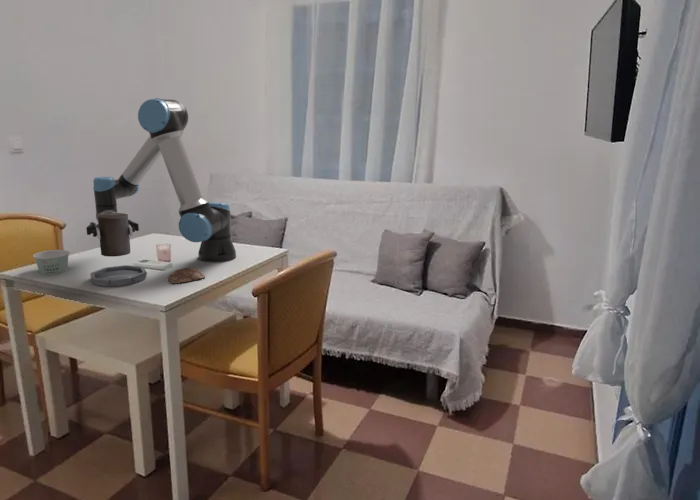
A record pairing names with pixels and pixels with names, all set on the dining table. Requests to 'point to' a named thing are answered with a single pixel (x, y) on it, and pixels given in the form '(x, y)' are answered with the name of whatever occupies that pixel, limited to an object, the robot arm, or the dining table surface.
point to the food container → (52, 261)
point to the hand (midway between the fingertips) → (115, 233)
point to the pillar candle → (114, 234)
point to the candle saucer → (118, 276)
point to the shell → (185, 276)
